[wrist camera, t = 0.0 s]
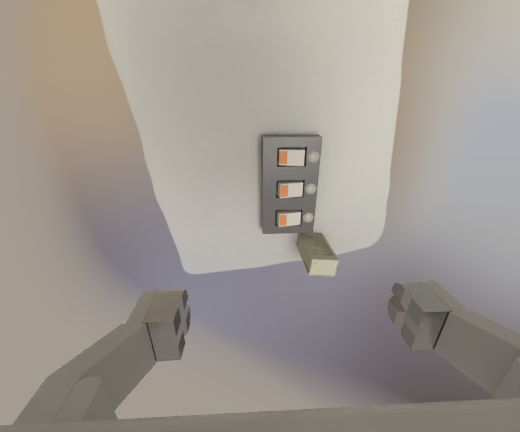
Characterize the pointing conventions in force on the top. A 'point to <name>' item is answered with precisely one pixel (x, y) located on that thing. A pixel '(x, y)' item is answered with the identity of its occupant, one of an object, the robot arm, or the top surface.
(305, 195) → the switch panel
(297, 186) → the rocker middle
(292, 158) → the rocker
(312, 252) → the skincare box
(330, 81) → the top surface
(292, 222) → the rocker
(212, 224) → the top surface
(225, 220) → the top surface
